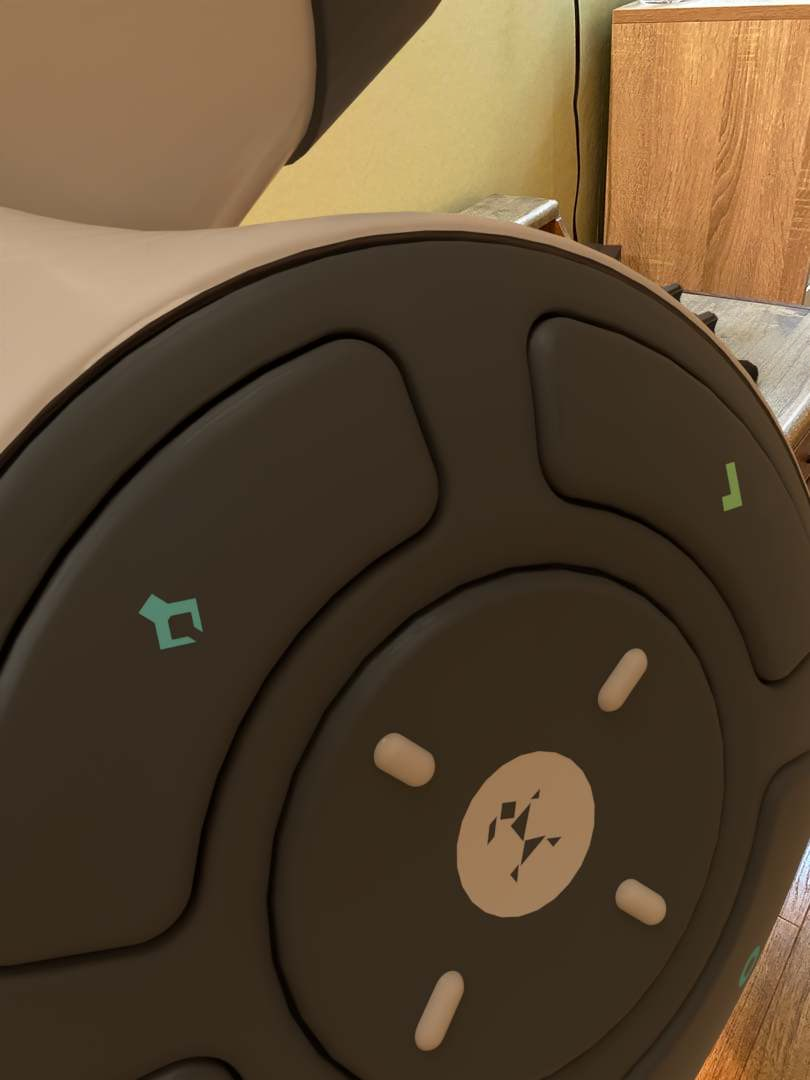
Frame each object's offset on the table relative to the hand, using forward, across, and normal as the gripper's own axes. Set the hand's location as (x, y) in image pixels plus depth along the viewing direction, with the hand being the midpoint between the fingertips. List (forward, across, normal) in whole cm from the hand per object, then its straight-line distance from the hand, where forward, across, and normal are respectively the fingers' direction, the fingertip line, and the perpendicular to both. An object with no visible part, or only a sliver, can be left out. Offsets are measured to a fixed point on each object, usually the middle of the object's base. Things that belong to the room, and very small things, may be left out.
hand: (171, 578), depth 33 cm
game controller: (+46, -58, -30) cm, 80 cm away
